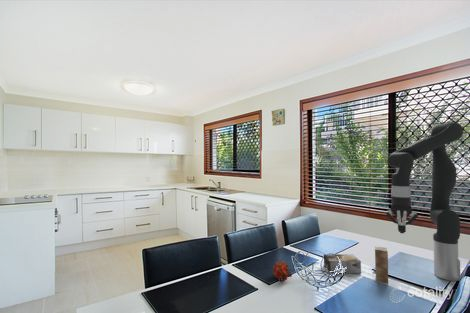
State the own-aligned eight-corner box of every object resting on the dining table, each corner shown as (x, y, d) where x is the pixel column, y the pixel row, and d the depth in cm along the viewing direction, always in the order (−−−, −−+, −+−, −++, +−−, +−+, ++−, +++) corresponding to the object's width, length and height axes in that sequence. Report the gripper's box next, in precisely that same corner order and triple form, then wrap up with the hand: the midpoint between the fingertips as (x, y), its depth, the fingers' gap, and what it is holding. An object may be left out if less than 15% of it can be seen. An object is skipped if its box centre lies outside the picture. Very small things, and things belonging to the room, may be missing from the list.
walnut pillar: (387, 279, 118) (387, 247, 119) (388, 283, 114) (387, 251, 114) (375, 276, 121) (374, 246, 121) (376, 281, 116) (375, 249, 117)
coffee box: (353, 265, 134) (323, 265, 134) (353, 253, 134) (323, 253, 134) (361, 273, 124) (329, 273, 125) (361, 260, 125) (329, 260, 125)
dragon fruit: (279, 275, 127) (286, 291, 115) (266, 266, 126) (271, 281, 114) (289, 262, 126) (297, 276, 114) (276, 254, 125) (282, 267, 113)
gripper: (416, 195, 114) (417, 232, 114) (383, 193, 121) (384, 229, 120) (420, 197, 108) (421, 237, 107) (384, 195, 114) (385, 233, 114)
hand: (401, 232), depth 114 cm, fingers closed
